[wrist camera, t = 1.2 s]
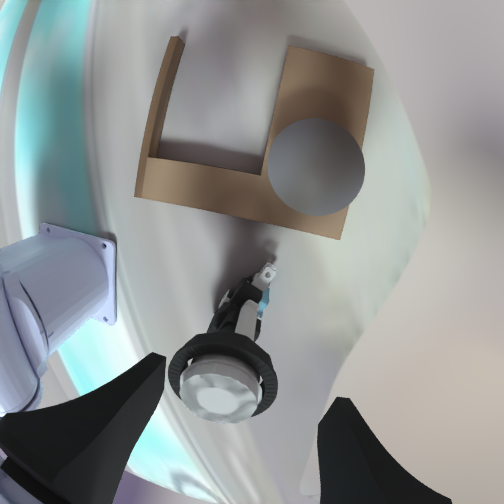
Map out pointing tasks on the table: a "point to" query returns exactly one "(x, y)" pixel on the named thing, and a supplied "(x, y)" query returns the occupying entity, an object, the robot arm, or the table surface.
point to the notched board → (246, 189)
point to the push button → (229, 358)
